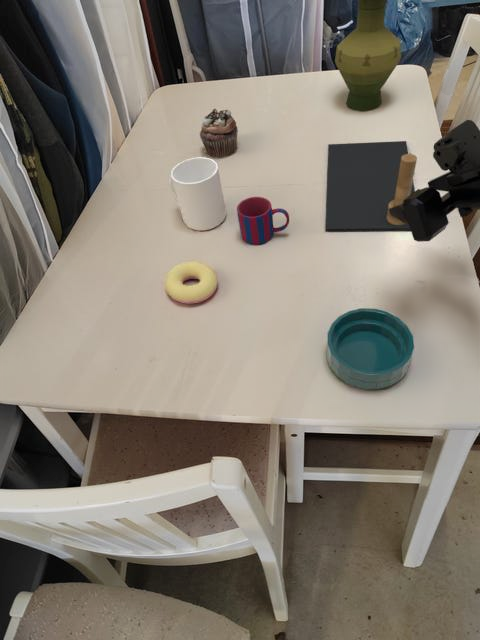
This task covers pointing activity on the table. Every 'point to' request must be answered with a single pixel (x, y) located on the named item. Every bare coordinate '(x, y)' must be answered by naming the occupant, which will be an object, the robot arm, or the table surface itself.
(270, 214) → the cup
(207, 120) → the cupcake
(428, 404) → the table surface
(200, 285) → the donut
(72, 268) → the table surface
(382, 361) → the bowl
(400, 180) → the stick
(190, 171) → the mug
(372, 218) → the mat
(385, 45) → the vase
